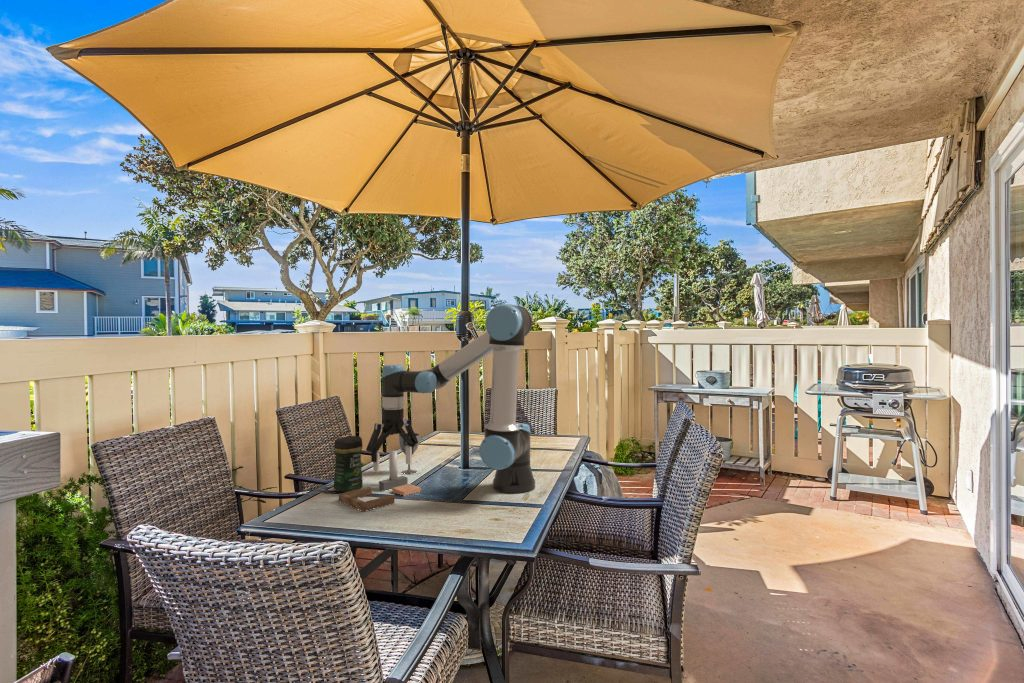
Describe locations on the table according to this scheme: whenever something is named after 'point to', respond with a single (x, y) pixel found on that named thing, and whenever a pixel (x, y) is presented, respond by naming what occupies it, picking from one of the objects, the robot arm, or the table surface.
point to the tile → (406, 489)
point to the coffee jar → (348, 464)
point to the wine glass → (403, 448)
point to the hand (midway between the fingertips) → (392, 467)
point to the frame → (352, 500)
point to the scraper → (393, 474)
